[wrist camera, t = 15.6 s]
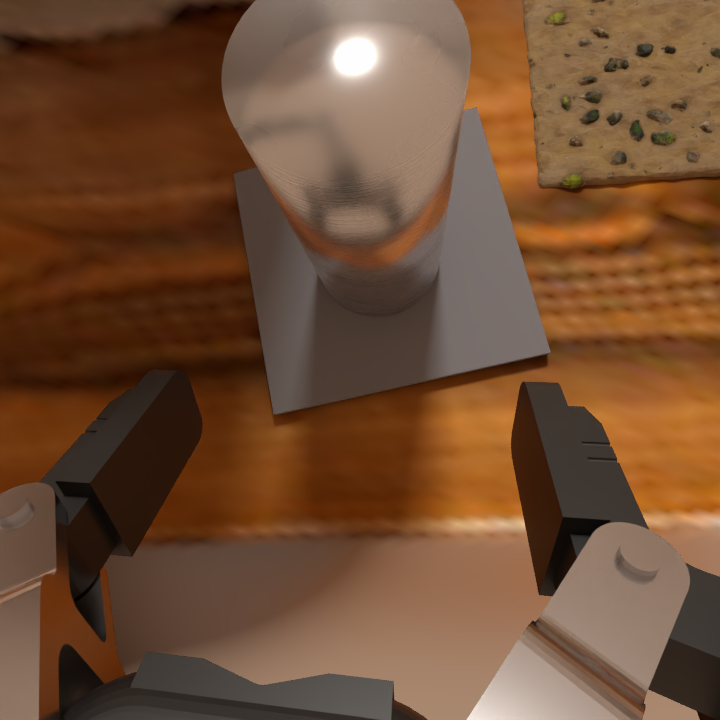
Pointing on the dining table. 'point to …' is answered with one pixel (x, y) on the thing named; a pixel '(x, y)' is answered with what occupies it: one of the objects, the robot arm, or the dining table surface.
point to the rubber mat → (402, 330)
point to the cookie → (624, 90)
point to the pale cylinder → (355, 134)
